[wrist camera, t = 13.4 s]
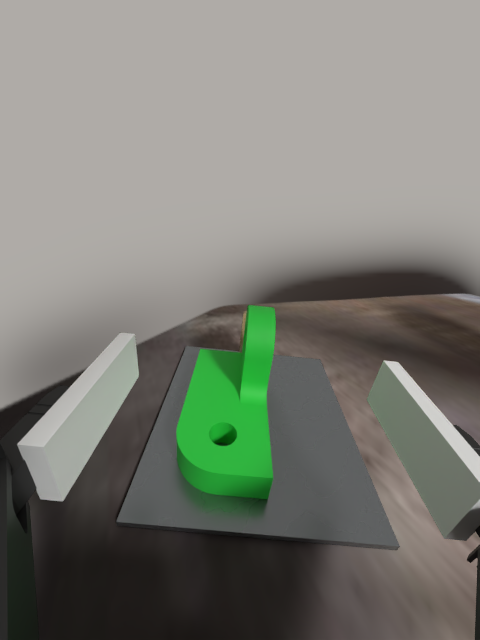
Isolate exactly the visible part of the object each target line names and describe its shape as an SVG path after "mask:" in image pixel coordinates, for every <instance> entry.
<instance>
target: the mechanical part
mask: <svg viewBox="0 0 480 640" xmlns="http://www.w3.org/2000/svg"><path fill="white" fill-rule="evenodd" d="M275 328H276V319H275V310H274V308H273V307H264V306H254V305H248V308H247V314H246V321H245V330H244V338H243V346H242V353H240V352H229V351H219V350H209V349H200V352H199V355H198V359H197V362H196V365H195V369H194V372H193V375H192V378H191V382H190V385H189V388H188V392H187V395H186V398H185V402H184V405H183V408H182V412H181V415H180V418H179V422H178V425H177V431H176V440H177V462H178V466H179V468H180V471H181V473H182V474H183V476H184V477H185V479H186V480H187V481H188V482H189V483H190V484H191V485H193V486H194V487H195V488H197V489H199V490H201V491H203V492H206V493H209V494H215V495H225V496H237V497H248V498H260V499H268V497H269V493H270V489H271V485H272V481H273V469H272V458H271V447H270V436H269V424H268V413H267V387H268V381H269V375H270V370H271V365H272V359H273V353H274V344H275ZM220 442H222V443H226V444H228V446H219V445H216V443H220Z"/></svg>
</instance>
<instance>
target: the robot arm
mask: <svg viewBox="0 0 480 640" xmlns="http://www.w3.org/2000/svg"><path fill="white" fill-rule="evenodd" d="M138 377H139V371H138V361H137V350H136V339H135V334H130V333H120V334H118V336H117V337H116V338H115V339H114V340H113V341H112V342H111V344H109V345H108V346H107V347H106V349H105V350H104V351H103V352H102V353H101V354H100V355H99V356H98V357H97V358H96V359H95V361H94V362H93V363H92V364H91V365H90V366H89V367H88V368H87V369H86V370H85V371H84V372H83V373H82V375H81V376H80V377H79V378H78V379H77V380H76V381H75V382H74V383H73V384H72V385H71V386H63V385H60V386H59V387H57V388H55V389H53V390H52V391H50V392H48V393H47V394H46V395H45V396H44V397H43V398H42V399H41V400H40V401H39V402H38V403H37V405H36V406H34V407H33V408H32V409H31V410H30V411H29V412H28V414H26V415H25V416H24V417H23V418H22V419H21V420H20V421H19V422H18V423H17V424H16V425H15V426H14V427H13V428H12V429H11V430H10V431H9V432H8V433H7V434H5V435H4V436H3V437H2V438H1V439H0V640H39V632H38V618H37V604H36V590H35V576H34V562H33V548H32V534H31V520H30V506H29V503H28V500H29V498H30V497H31V495H32V494H33V493H34V491H35V490H37V493H38V495H39V497H40V499H43V500H53V501H64V499H65V497H66V496H67V494H68V492H69V491H70V489H71V487H72V486H73V484H74V482H75V481H76V479H77V478H78V476H79V474H80V473H81V471H82V469H83V468H84V466H85V464H86V463H87V461H88V459H89V458H90V456H91V454H92V453H93V451H94V449H95V448H96V446H97V444H98V443H99V441H100V439H101V438H102V436H103V435H104V433H105V431H106V430H107V428H108V426H109V425H110V423H111V421H112V420H113V418H114V416H115V415H116V413H117V411H118V410H119V408H120V406H121V405H122V403H123V401H124V400H125V398H126V396H127V395H128V393H129V392H130V390H131V388H132V387H133V385H134V383H135V382H136V380H137V378H138ZM367 401H368V403H369V405H370V406H371V408H372V410H373V412H374V414H375V415H376V417H377V419H378V421H379V423H380V424H381V426H382V428H383V430H384V431H385V433H386V435H387V437H388V439H389V440H390V442H391V444H392V446H393V448H394V449H395V451H396V453H397V455H398V457H399V458H400V460H401V462H402V464H403V465H404V467H405V469H406V471H407V473H408V474H409V476H410V478H411V480H412V482H413V483H414V485H415V487H416V489H417V491H418V492H419V494H420V496H421V498H422V499H423V501H424V503H425V505H426V507H427V508H428V510H429V512H430V514H431V516H432V517H433V519H434V521H435V523H436V525H437V526H438V528H439V530H440V532H441V533H442V535H443V537H444V539H454V540H464V541H466V540H467V539H468V538H469V537H470V536H471V535H472V534H473V533H474V532H475V531H476V532H477V534H478V535H479V537H480V446H479V445H478V443H477V442H476V441H475V440H474V439H473V438H472V437H471V436H470V435H469V434H467V433H466V432H465V431H464V430H462V429H461V428H460V427H458V426H457V425H452V424H451V423H450V422H449V421H448V419H447V418H446V417H445V416H444V415H443V414H442V413H441V411H440V410H439V409H438V408H437V407H436V406H435V404H434V403H433V402H432V401H431V400H430V399H429V397H428V396H427V395H426V394H425V393H424V392H423V391H422V389H421V388H420V387H419V386H418V385H417V384H416V382H415V381H414V380H413V379H412V378H411V377H410V376H409V374H408V373H407V372H406V371H405V370H404V369H403V367H402V366H401V365H400V364H399V363H398V362H393V361H384V360H383V363H382V365H381V367H380V370H379V372H378V374H377V377H376V379H375V381H374V384H373V386H372V388H371V391H370V393H369V395H368V398H367ZM476 558H478V565H477V594H476V622H475V640H480V545H479V546H478V547H477V548H476V549H475V550H474V551H472V552H471V553H470V554H469V556H468V558H467V561H469V562H470V563H471V562H472V561H473V560H474V559H476Z"/></svg>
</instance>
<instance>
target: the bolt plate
mask: <svg viewBox="0 0 480 640" xmlns="http://www.w3.org/2000/svg"><path fill="white" fill-rule="evenodd" d="M246 314H247V311H245V312H244V313H243V321H242V330H241V338H240V347H239V351H231V350H221V349H212V348H202V347H192V346H186V348H185V351H184V353H183V356H182V358H181V361H180V363H179V366H178V368H177V371H176V373H175V376H174V378H173V381H172V383H171V386H170V388H169V391H168V393H167V396H166V398H165V401H164V403H163V406H162V408H161V411H160V413H159V416H158V418H157V421H156V423H155V426H154V428H153V431H152V433H151V436H150V438H149V441H148V443H147V446H146V448H145V451H144V453H143V456H142V458H141V461H140V463H139V466H138V468H137V471H136V473H135V476H134V478H133V481H132V483H131V486H130V488H129V491H128V493H127V496H126V498H125V501H124V503H123V506H122V508H121V511H120V513H119V516H118V518H117V521H116V523H117V526H124V527H136V528H147V529H159V530H170V531H182V532H193V533H205V534H216V535H228V536H239V537H251V538H263V539H274V540H286V541H297V542H309V543H320V544H332V545H343V546H355V547H366V548H378V549H389V550H397V549H398V548H399V547H400V546H399V544H398V541H397V539H396V537H395V534H394V532H393V530H392V527H391V525H390V523H389V520H388V518H387V516H386V513H385V511H384V508H383V506H382V504H381V501H380V499H379V497H378V494H377V492H376V490H375V487H374V485H373V483H372V480H371V478H370V476H369V473H368V471H367V469H366V466H365V464H364V462H363V459H362V457H361V455H360V452H359V450H358V448H357V445H356V443H355V440H354V438H353V436H352V433H351V431H350V429H349V426H348V424H347V422H346V419H345V417H344V415H343V412H342V410H341V408H340V405H339V403H338V401H337V398H336V396H335V394H334V391H333V389H332V387H331V384H330V382H329V380H328V377H327V375H326V372H325V370H324V368H323V365H322V363H321V361H320V359H311V358H301V357H291V356H281V355H273V359H272V365H271V370H270V375H269V381H268V387H267V413H268V424H269V436H270V447H271V458H272V469H273V481H272V485H271V489H270V493H269V497H268V499H260V498H248V497H237V496H225V495H215V494H209V493H206V492H203V491H201V490H199V489H197V488H195V487H194V486H193V485H191V484H190V483H189V482H188V481H187V480H186V479H185V477H184V476H183V474H182V473H181V471H180V468H179V466H178V462H177V440H176V431H177V425H178V422H179V418H180V415H181V412H182V408H183V405H184V402H185V398H186V395H187V392H188V388H189V385H190V382H191V378H192V375H193V372H194V369H195V365H196V362H197V359H198V355H199V352H200V349H209V350H219V351H229V352H240V353H242V346H243V338H244V330H245V321H246ZM216 445H219V446H228V444H226V443H222V442H220V443H216Z"/></svg>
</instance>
